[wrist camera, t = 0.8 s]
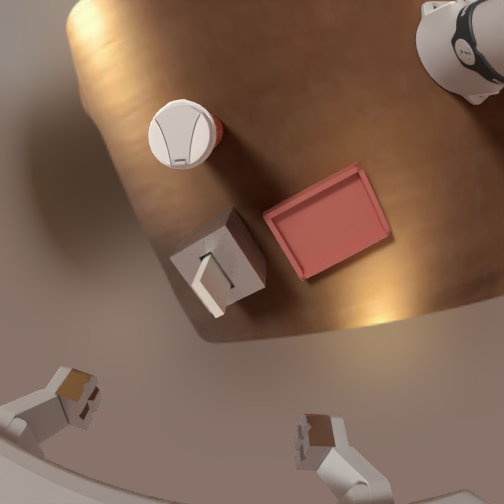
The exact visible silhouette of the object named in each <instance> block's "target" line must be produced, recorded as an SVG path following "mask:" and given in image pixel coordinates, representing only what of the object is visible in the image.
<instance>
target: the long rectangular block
mask: <svg viewBox="0 0 504 504" xmlns="http://www.w3.org/2000/svg"><path fill="white" fill-rule="evenodd" d="M231 283H232V282H231V280H230V279H229V277H228V276H227V274H226V273H225V272H224V270H223V269H222V267H221V266H220V264H219V263H218V261H217V260H216V258H215V257H214V256H213V254H212V253H211V251H210V252H208V253H207V254H206V255H205V257H204V259H203V261H202V263H201V265H200V267H199V270H198V272H197V274H196V276H195V278H194V280H193V283H192V285H191V286H192V287H193V288H194V290H195V291H196V292H197V294H198V295H199V296H200V298H201V299H202V300H203V302H204V303H205V304H206V306H207V307H208V308H209V310H210V311H211V312H212V314H213V315H214V316H215V318H217V317H219V316H221V315H223V314H224V313H225V309H226V305H227V300H228V296H229V292H230V288H231Z"/></svg>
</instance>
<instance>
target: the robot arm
mask: <svg viewBox="0 0 504 504" xmlns="http://www.w3.org/2000/svg"><path fill="white" fill-rule="evenodd" d="M434 7H435V8H436V9H434ZM421 12H422V19H421V22H420V24H419V26H418V29H417V34H416V45H417V50H418V54H419V57H420V59H421V62H422V64H423V66H424V67H425V69H426V71H427V72H428V73H429V75H430V76H431V77H432V78H433V79H434V80H435V81H436V82H437V83H438V84H439V85H440V86H442V87H443V88H445V89H446V90H448V91H450V92H453V93H456V94H459V95H461V96H463V97H464V98H465V99H466V100H467V101H469V102H470V103H471V104H473V105H478V104H480V103H482V102H483V101H484V100H485V99H486V98H487V97H488V96H489V95H493V94H498V93H499V90H501V89H502V88H503V87H504V0H479V1H478V0H465V2H464V0H456V2H454V1H451V2H426V3H423V4H422V7H421ZM97 383H98V381H97V377H96V376H94V375H91V374H88V373H85V372H82V371H79V370H77V369H74V368H71V367H68V366H65V365H63V366H61V367H60V368H59V370H58V371H57V373H56V374H55V375H54V377H53V378H52V380H51V381H50V383H49V384H48V385H47V387H46V388H45V390H43V389H40V390H38V391H36V392H33V393H31V394H29V395H26V396H24V397H22V398H19V399H17V400H15V401H12V402H10V403H8V404H5V405H3V406H0V504H185V503H180V502H175V501H170V500H166V499H161V498H157V497H153V496H149V495H145V494H141V493H137V492H134V491H130V490H127V489H124V488H120V487H117V486H114V485H111V484H108V483H105V482H102V481H99V480H96V479H94V478H91V477H88V476H85V475H83V474H80V473H78V472H75V471H73V470H70V469H68V468H65V467H63V466H61V465H58V464H56V463H54V462H52V461H49V460H47V459H45V458H44V457H45V456H44V453H43V451H42V450H41V448H40V446H39V444H40V443H42V442H43V441H45V440H46V439H48V438H49V437H51V436H52V435H54V434H56V433H57V432H59V431H60V430H62V429H63V428H65V427H66V426H68V425H69V424H71V425H74V426H76V427H79V428H82V429H85V430H87V428H88V426H89V424H90V422H91V420H92V415H91V413H92V412H95V411H96V410H97V408H98V406H99V402H100V391H99V389H98V388H97V387H96V385H97ZM294 447H295V449H296V450H297V451H298V452H297V454H296V456H295V462H296V469H297V470H317V473H318V474H319V475H320V477H321V478H322V479H323V481H324V482H325V483H326V485H327V486H328V487H329V488H330V490H331V491H332V492H333V494H334V495H335V496H336V498H337V499H338V500H339V501H338V502H337V503H336V504H394V500H393V496H392V492H391V488H390V485H389V481H388V480H387V479H386V478H385V477H384V476H383V475H382V474H381V473H379V472H378V471H377V470H376V469H375V468H374V467H373V466H372V465H371V464H370V463H369V462H368V461H367V460H366V459H364V458H363V457H362V456H361V455H360V454H359V453H358V452H357V451H356V450H355V449H354V448H353V447H349V444H348V440H347V435H346V431H345V426H344V422H343V418H342V416H340V415H318V414H317V415H316V414H304V415H303V416H302V418H301V425H299V426H298V427H297V429H296V432H295V437H294ZM405 504H489V503H488V502H487V501H485V500H484V499H483V498H481V497H480V496H478V495H477V494H475V493H474V492H472V491H470V490H468V489H462V490H458V491H454V492H451V493H447V494H444V495H441V496H436V497H432V498H428V499H424V500H419V501H415V502H410V503H405Z"/></svg>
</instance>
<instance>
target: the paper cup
mask: <svg viewBox="0 0 504 504" xmlns="http://www.w3.org/2000/svg"><path fill="white" fill-rule="evenodd" d="M222 136H223V126H222V123H221V121H220V120H219V119H218V118H217V117H216V116H215V115H213V114H211V113H209V112H208V111H207V110H206V109H205V108H204V107H202V106H201V105H199V104H197V103H194V102H191V101H188V100H185V99H183V100H175V101H172V102H169V103H168V104H167V105H166V106H164V107H163V108H162V109H160V110H159V111H158V113H157V114H156V115H155V116H154V118H153V120H152V122H151V124H150V128H149V144H150V148H151V150H152V152H153V154H154V155H155V157H156V158H157V159H158V160H159V161H160V162H161V163H163V164H164V165H166V166H168V167H170V168H173V169H190V168H193V167H195V166H197V165H199V164H201V163H202V162H204V161H205V160H206V159H207V158H208V156H209V155H210V154H211V152H212V150H213V149H214V148H215V147H216V146H217V145H218V144H219V142H220V141H221V139H222Z"/></svg>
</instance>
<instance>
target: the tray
mask: <svg viewBox="0 0 504 504" xmlns="http://www.w3.org/2000/svg"><path fill="white" fill-rule="evenodd" d="M263 218H264V219H265V221H266V223H267V224H268V226H269V228H270V229H271V231H272V233H273V234H274V236H275V238H276V239H277V241H278V243H279V244H280V246H281V247H282V249H283V251H284V252H285V254H286V256H287V257H288V259H289V261H290V263H291V264H292V266H293V268H294V269H295V271H296V273H297V274H298V276H299V278H300V279H301V281H303V280H305V279H307V278H309V277H311V276H313V275H315V274H317V273H319V272H321V271H323V270H325V269H327V268H329V267H331V266H333V265H335V264H337V263H339V262H341V261H343V260H344V259H346V258H348V257H350V256H352V255H354V254H356V253H358V252H360V251H362V250H364V249H365V248H367V247H369V246H371V245H373V244H375V243H377V242H379V241H380V240H382V239H384V238H386V237H388V236H390V235H391V234H392V233H391V230H390V228H389V226H388V223H387V221H386V218H385V216H384V214H383V211H382V209H381V207H380V205H379V202H378V200H377V198H376V196H375V193H374V191H373V189H372V187H371V185H370V183H369V180H368V178H367V176H366V174H365V172H364V170H363V168H362V166H361V164H359V163H357V162H355V163H353V164H351V165H349V166H347V167H346V168H344V169H342V170H340V171H338V172H336V173H334V174H332V175H331V176H329V177H327V178H325V179H323V180H321V181H319V182H317V183H316V184H314V185H312V186H310V187H308V188H306V189H304V190H303V191H301V192H299V193H297V194H295V195H293V196H292V197H290V198H288V199H286V200H284V201H282V202H281V203H279V204H277V205H275V206H273V207H272V208H270V209H268V210H266V211H264V212H263Z"/></svg>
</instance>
